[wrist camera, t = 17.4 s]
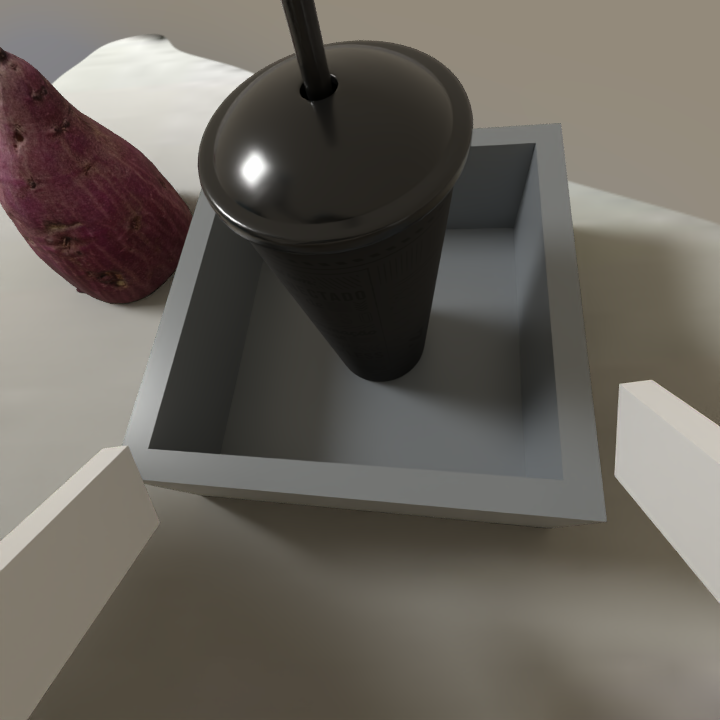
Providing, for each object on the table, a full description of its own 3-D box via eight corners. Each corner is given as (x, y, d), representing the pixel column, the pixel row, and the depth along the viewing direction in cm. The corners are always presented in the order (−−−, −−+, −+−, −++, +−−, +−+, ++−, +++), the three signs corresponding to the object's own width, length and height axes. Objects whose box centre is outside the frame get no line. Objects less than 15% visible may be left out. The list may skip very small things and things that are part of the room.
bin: (199, 495, 23) (111, 477, 17) (260, 229, 30) (215, 145, 24) (551, 528, 20) (606, 522, 14) (529, 222, 27) (560, 123, 20)
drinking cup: (324, 421, 23) (-102, -69, 5) (308, 300, 26) (18, -273, 8) (467, 391, 22) (633, -301, 4) (432, 272, 25) (437, -418, 7)
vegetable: (222, 223, 35) (174, 5, 22) (176, 326, 30) (78, 122, 17) (96, 197, 35) (-29, -39, 22) (28, 296, 30) (-187, 66, 17)
